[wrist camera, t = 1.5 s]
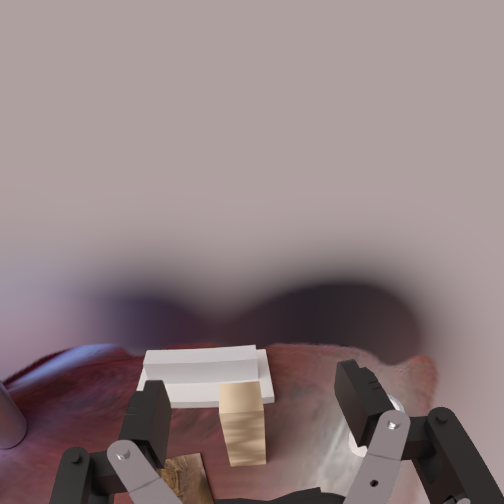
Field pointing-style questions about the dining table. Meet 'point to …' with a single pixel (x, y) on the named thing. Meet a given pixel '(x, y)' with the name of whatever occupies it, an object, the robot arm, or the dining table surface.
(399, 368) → the dining table surface
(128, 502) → the dining table surface
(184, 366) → the ridge stand
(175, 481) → the wooden fragment
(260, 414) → the maple block
